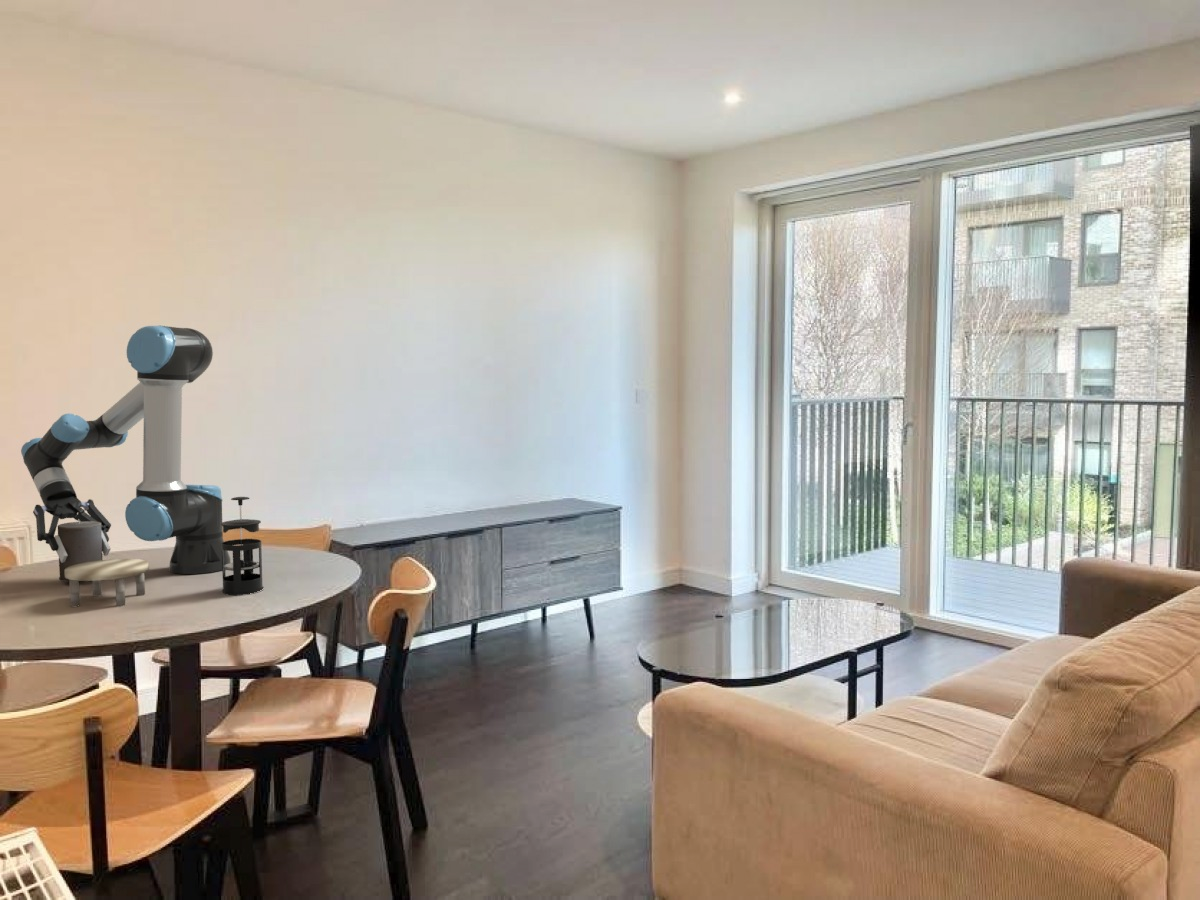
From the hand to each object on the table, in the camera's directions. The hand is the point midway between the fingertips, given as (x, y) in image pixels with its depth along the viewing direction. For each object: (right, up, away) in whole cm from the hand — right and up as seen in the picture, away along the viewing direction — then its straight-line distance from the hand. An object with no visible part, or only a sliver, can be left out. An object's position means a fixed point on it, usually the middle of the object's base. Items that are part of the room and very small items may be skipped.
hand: (86, 555), depth 219 cm
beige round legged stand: (+15, -8, -16) cm, 24 cm away
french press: (+42, -8, -7) cm, 44 cm away
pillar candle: (-2, -6, +2) cm, 7 cm away
